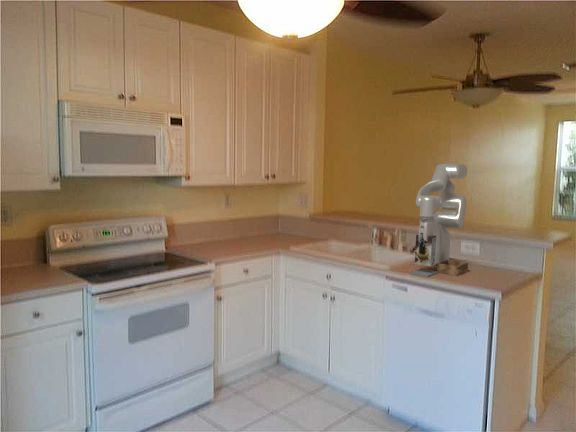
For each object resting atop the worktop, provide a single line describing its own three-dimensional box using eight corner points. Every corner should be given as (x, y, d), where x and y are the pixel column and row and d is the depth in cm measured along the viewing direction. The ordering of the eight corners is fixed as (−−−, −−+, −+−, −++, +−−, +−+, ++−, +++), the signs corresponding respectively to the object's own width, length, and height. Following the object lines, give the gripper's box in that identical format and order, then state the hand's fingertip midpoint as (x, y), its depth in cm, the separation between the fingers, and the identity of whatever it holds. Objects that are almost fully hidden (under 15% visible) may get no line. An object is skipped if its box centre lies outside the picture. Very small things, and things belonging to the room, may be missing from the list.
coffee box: (414, 264, 241) (415, 234, 239) (418, 262, 246) (420, 233, 244) (430, 266, 235) (432, 236, 233) (435, 265, 240) (436, 235, 238)
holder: (435, 272, 245) (436, 263, 244) (446, 268, 255) (446, 259, 255) (457, 276, 237) (458, 266, 236) (467, 271, 247) (468, 262, 246)
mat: (410, 273, 240) (410, 272, 240) (420, 270, 249) (420, 268, 249) (427, 277, 233) (428, 275, 233) (437, 273, 242) (437, 271, 242)
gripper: (426, 221, 229) (424, 255, 231) (440, 219, 242) (438, 251, 243) (412, 220, 234) (411, 253, 236) (427, 217, 247) (425, 249, 249)
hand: (425, 252), depth 240 cm, fingers closed on coffee box, 6 cm apart
